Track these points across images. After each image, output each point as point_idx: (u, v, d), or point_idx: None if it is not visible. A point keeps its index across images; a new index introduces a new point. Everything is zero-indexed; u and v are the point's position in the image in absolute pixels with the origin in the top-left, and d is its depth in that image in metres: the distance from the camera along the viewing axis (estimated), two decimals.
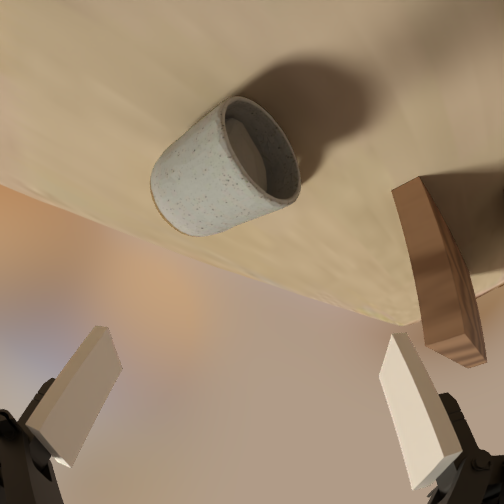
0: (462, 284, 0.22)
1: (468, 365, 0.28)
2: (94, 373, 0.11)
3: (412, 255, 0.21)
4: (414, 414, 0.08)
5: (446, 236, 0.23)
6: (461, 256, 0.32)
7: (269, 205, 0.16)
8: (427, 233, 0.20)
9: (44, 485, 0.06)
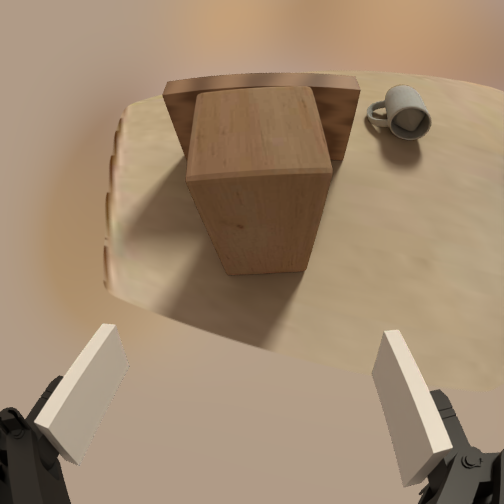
0: None
1: (195, 80, 0.33)
2: (102, 370, 0.11)
3: None
4: (405, 410, 0.09)
5: None
6: None
7: (410, 105, 0.38)
8: None
9: (51, 484, 0.06)
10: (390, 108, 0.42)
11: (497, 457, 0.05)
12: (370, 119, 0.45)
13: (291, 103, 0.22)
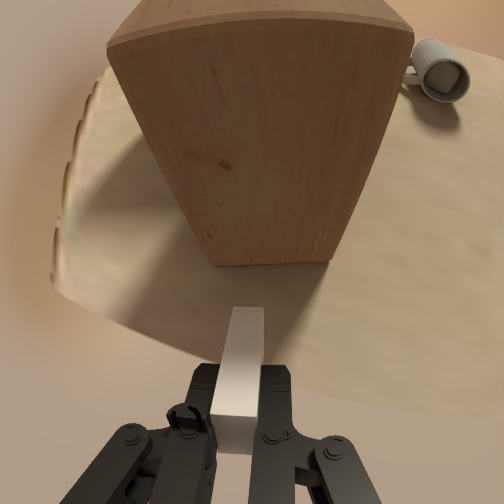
0: None
1: None
2: None
3: None
4: None
5: None
6: None
7: (446, 57, 0.26)
8: None
9: (204, 494, 0.07)
10: (421, 62, 0.29)
11: (313, 454, 0.07)
12: None
13: None
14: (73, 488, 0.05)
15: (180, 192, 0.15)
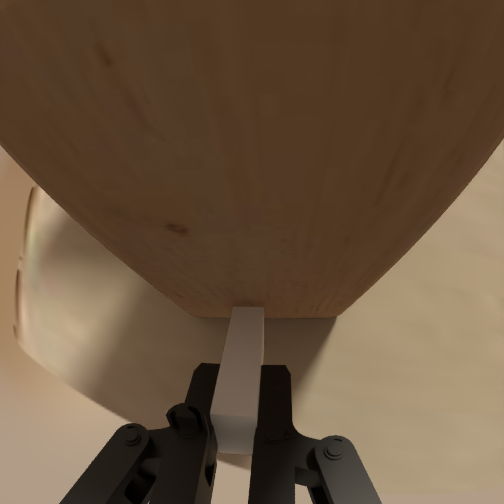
0: None
1: None
2: None
3: None
4: None
5: None
6: None
7: None
8: None
9: (204, 494, 0.07)
10: None
11: (313, 454, 0.07)
12: None
13: None
14: (73, 488, 0.05)
15: (121, 255, 0.09)
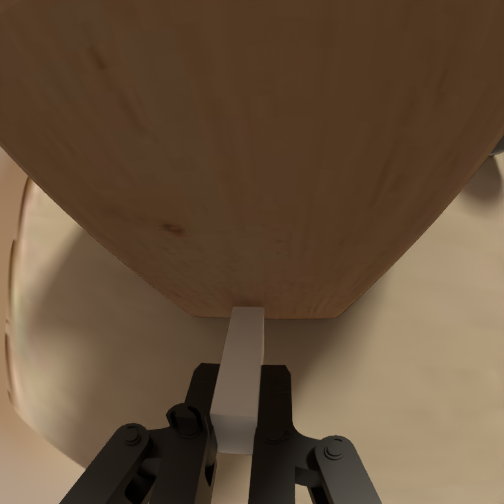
0: None
1: None
2: None
3: None
4: None
5: None
6: None
7: None
8: None
9: (204, 494, 0.07)
10: None
11: (313, 454, 0.07)
12: None
13: None
14: (73, 488, 0.05)
15: (119, 254, 0.09)
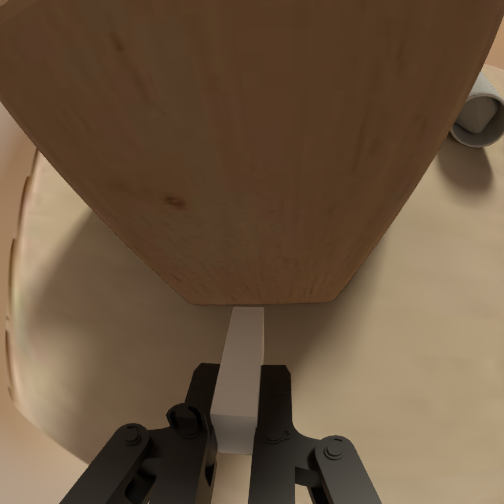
0: None
1: None
2: None
3: None
4: None
5: None
6: None
7: (485, 91, 0.18)
8: None
9: (204, 494, 0.07)
10: None
11: (313, 454, 0.07)
12: None
13: None
14: (73, 488, 0.05)
15: (123, 234, 0.10)
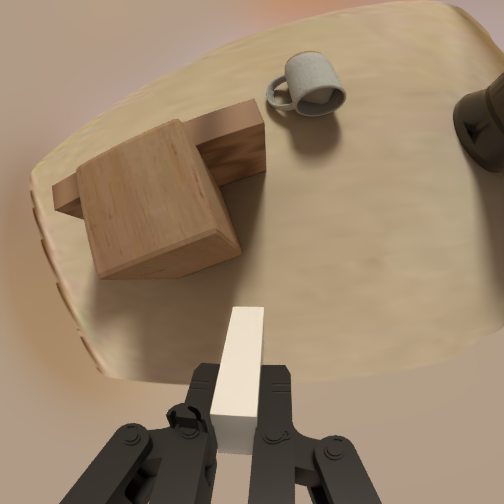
0: (210, 165, 0.33)
1: None
2: None
3: None
4: None
5: (233, 170, 0.37)
6: None
7: (315, 85, 0.34)
8: None
9: (204, 494, 0.07)
10: (292, 90, 0.37)
11: (313, 454, 0.07)
12: (272, 105, 0.40)
13: (161, 153, 0.21)
14: (73, 488, 0.05)
15: (146, 278, 0.29)
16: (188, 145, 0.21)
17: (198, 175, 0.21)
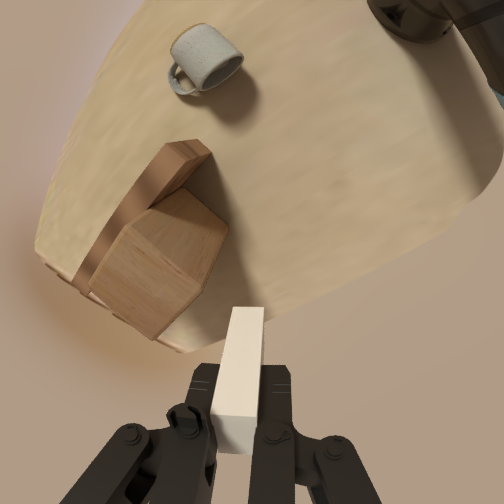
0: (166, 194, 0.37)
1: (83, 268, 0.36)
2: None
3: (185, 142, 0.36)
4: None
5: (185, 176, 0.40)
6: None
7: (207, 70, 0.32)
8: (197, 149, 0.37)
9: (204, 494, 0.07)
10: (190, 78, 0.35)
11: (313, 454, 0.07)
12: None
13: (134, 257, 0.28)
14: (73, 488, 0.05)
15: None
16: (147, 241, 0.27)
17: (168, 258, 0.28)
